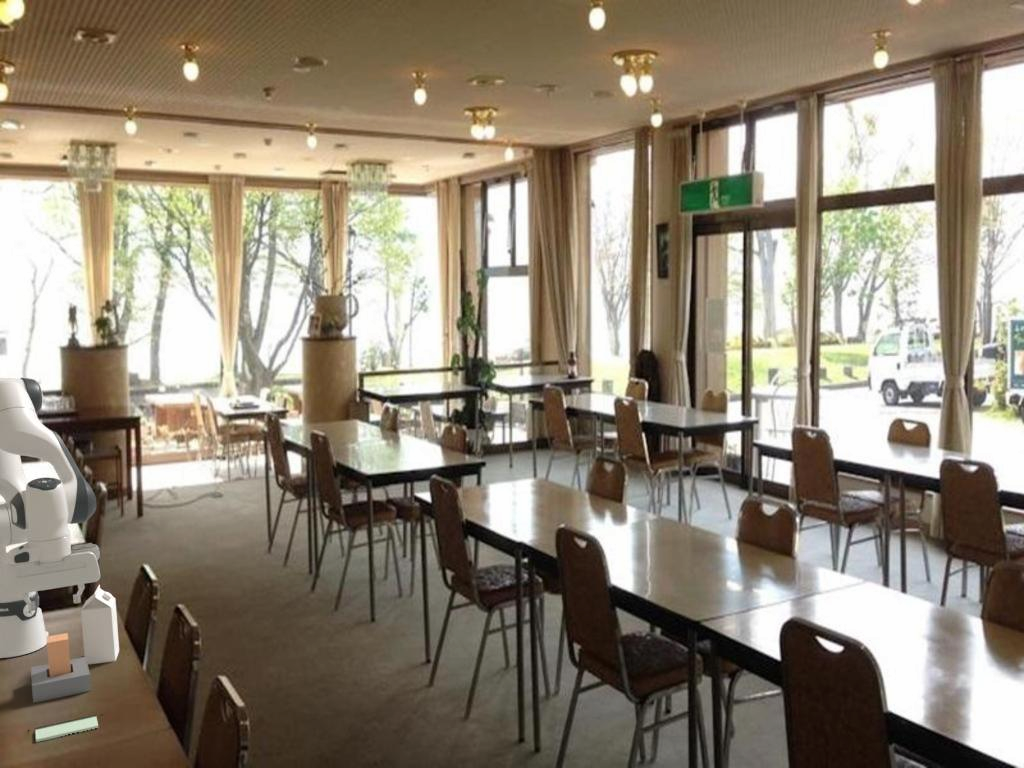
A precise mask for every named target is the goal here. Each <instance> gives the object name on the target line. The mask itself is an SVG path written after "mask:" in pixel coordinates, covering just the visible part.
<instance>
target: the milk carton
mask: <svg viewBox="0 0 1024 768" xmlns="http://www.w3.org/2000/svg"><path fill="white" fill-rule="evenodd" d="M116 601H117V600H116V597H114V596H113V595H112V593H110V592H108V591H105V590H103V589H102V588H101V585H100V584H98V586H97V588H96V590H95V591H94V593H93V594H92V595H91V596H90V597H89V598H88V599H87V600H86V601H84V602H85V603H84V604H83V605H82V607H81V610H80V615H81V616H80V618H81V628H82V630H81V631H82V642H83V654H84V656H83V657H86V658H87V663H88V665H94V664H102V663H111V662H116V661H117V659H118V655H119V653H120V643H119V632H118V630H119V629H118V617H117V615H118V614H117V604H116V603H117V602H116Z"/></svg>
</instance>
